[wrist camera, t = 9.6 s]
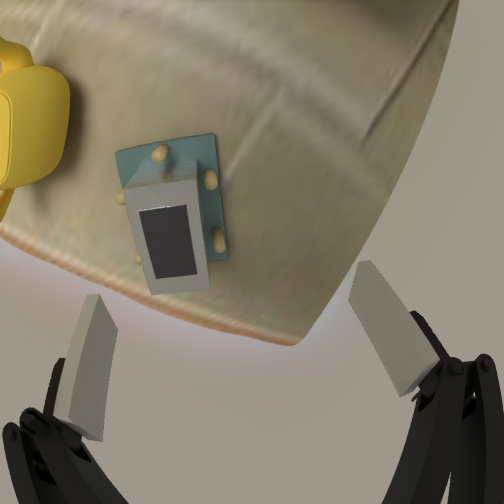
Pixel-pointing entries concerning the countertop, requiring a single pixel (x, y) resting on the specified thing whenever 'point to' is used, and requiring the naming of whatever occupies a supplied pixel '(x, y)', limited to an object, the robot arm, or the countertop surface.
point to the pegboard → (208, 179)
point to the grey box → (169, 226)
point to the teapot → (29, 119)
